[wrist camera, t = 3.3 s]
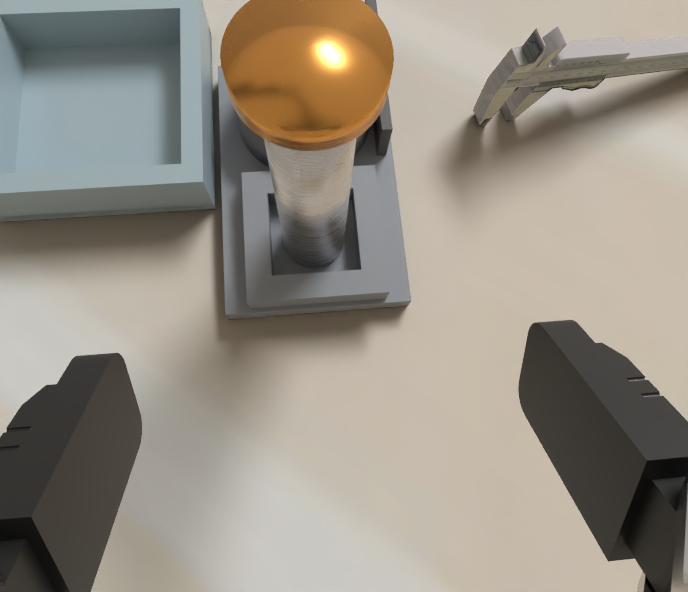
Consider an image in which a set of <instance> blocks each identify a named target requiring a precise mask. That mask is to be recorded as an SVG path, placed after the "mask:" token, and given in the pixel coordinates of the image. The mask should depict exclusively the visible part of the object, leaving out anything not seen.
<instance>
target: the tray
mask: <svg viewBox="0 0 688 592" xmlns="http://www.w3.org/2000/svg"><path fill="white" fill-rule="evenodd" d="M204 209H216V201H215V162H214V123H213V85H212V46H211V32H210V29H209V25H208V21H207V18H206V14H205V10H204V7H203V3H202V0H0V222H8V221H25V220H41V219H57V218H74V217H90V216H106V215H123V214H139V213H155V212H172V211H188V210H204Z"/></svg>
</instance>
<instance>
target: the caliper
mask: <svg viewBox="0 0 688 592" xmlns="http://www.w3.org/2000/svg"><path fill="white" fill-rule="evenodd" d="M685 68H688V37H682V38H672V39H661V40H650V41H640V42H629V43H625V42H624V40H623V38H609V39H596V40H583V41H570V42H565V40H564V38H563V36H562V34H561V32H560V30H559V27H556V28H555V29H553V30H552V31H551V32H549V33H548V34H547V35H545V36H544V37H543V38H542V37H541V34H540V32H539V30H538V29H537V28H536V29H535V30H534V32H533V33H532V34H531V36H530V37H529V38H528V40H527V41H526V42H525V43H524V45H523V46H522V47H517V48H511V50H510V51H509V52H508V53H507V55H506V56H505V57H504V58H503V60H502V61H501V62H500V63H499V65H498V66H497V67H496V68H495V70H494V71H493V72H492V74H491V75H490V76H489V77H488V79H487V81H486V83H485V85H484V88H483V90H482V92H481V94H480V96H479V98H478V100H477V102H476V104H475V107H474V109H473V111H474V113H475V116H476V118H477V121H478V123H479V125H480V126H486V125H487V123H488V122H489V121H490V120H491V119H492V117H493V116H494V115H495V114H496V113H497V112H498V110H499V109H501V111H502V114H503V116H504V118H505V120H506V121H509V120H513V119H515V118H516V117H518V116H519V115H520V114H521V113H523V112H524V111H525V110H526V109H527V108H529V107H530V106H531V105H532V104H534V103H535V102H536V101H537V100H538V99H540V98H541V97H542V96H543V95H545V94H546V93H547V92H548V91H549V90H551V89H552V88H558V87H561V88H562V89H566V90H571V91H573V90H577V89H580V88H588V89H592V88H595V87H597V86H598V85H599V84H600V83H601V82H602V81H603V80H604V79H605V78H610V77H618V76H626V75H635V74H643V73H651V72H660V71H668V70H676V69H685Z"/></svg>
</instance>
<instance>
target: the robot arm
mask: <svg viewBox="0 0 688 592" xmlns="http://www.w3.org/2000/svg"><path fill="white" fill-rule="evenodd" d="M519 399H520V403H521V407H522V410H523V412H524V414H525V416H526V418H527V420H528V421H529V423H530V425H531V427H532V428H533V430H534V432H535V434H536V435H537V437H538V439H539V441H540V442H541V444H542V446H543V448H544V449H545V451H546V453H547V455H548V456H549V458H550V460H551V462H552V463H553V465H554V467H555V469H556V470H557V472H558V474H559V476H560V477H561V479H562V481H563V483H564V485H565V486H566V488H567V490H568V492H569V493H570V495H571V497H572V499H573V500H574V502H575V504H576V506H577V507H578V509H579V511H580V513H581V514H582V516H583V518H584V520H585V521H586V523H587V525H588V527H589V528H590V530H591V532H592V534H593V535H594V537H595V539H596V541H597V542H598V544H599V546H600V548H601V549H602V551H603V553H604V555H605V556H606V558H607V560H608V561H615V560H624V559H633V558H635V559H636V561H637V562H638V564H639V566H640V567H641V569H642V570H643V573H642V575H641V577H640V580H639V584H638V591H637V592H688V421H687V420H686V419H685V418H684V417H683V416H682V415H681V414H680V413H679V412H678V411H677V410H676V409H675V408H674V407H673V406H672V405H671V404H670V403H669V401H668V400H667V399H666V398H665V397H664V396H660V394H659V391H658V390H657V389H656V388H655V387H654V386H653V385H652V384H651V382H650V381H649V380H645V376H644V375H643V374H642V373H641V372H640V371H639V370H638V369H637V368H636V367H635V366H634V365H633V363H632V362H631V361H630V360H629V359H628V358H627V357H625V356H623V355H622V354H620V353H618V352H617V351H615V350H613V349H612V348H610V347H608V346H607V345H605V344H603V343H595V342H594V341H593V340H592V339H591V338H590V337H589V336H588V335H587V333H586V332H585V331H584V330H583V329H582V328H581V327H580V326H579V324H578V323H576V322H575V321H573V320H564V321H551V322H538V323H533V324H532V325H531V327H530V329H529V332H528V336H527V342H526V347H525V353H524V358H523V363H522V369H521V374H520V379H519ZM141 436H142V421H141V414H140V411H139V407H138V404H137V401H136V397H135V394H134V391H133V388H132V384H131V381H130V378H129V374H128V371H127V368H126V364H125V362H124V359H123V357H122V356H121V355H120V354H119V353H110V354H97V355H84V356H76V357H74V358H73V359H72V360H71V362H70V364H69V365H68V367H67V368H66V370H65V372H64V373H63V375H62V377H61V378H60V380H59V382H58V383H57V384H55V385H46V386H45V387H43V388H42V389H41V390H40V391H39V392H37V393H36V394H35V395H34V396H33V397H31V398H30V399H29V400H28V401H26V402H25V403H24V404H23V405H22V406H21V407H20V409H19V410H18V412H17V413H16V415H15V416H14V418H13V419H12V421H11V422H10V424H9V425H8V427H7V432H6V433H3V434H2V436H1V437H0V592H90V591H91V589H92V586H93V583H94V580H95V577H96V574H97V571H98V568H99V565H100V562H101V559H102V556H103V553H104V550H105V547H106V544H107V541H108V538H109V535H110V532H111V529H112V526H113V523H114V520H115V517H116V515H117V512H118V509H119V506H120V503H121V500H122V497H123V494H124V491H125V488H126V485H127V482H128V479H129V476H130V473H131V470H132V467H133V464H134V461H135V458H136V455H137V452H138V449H139V446H140V442H141Z"/></svg>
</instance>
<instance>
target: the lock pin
mask: <svg viewBox="0 0 688 592" xmlns="http://www.w3.org/2000/svg"><path fill="white" fill-rule="evenodd" d="M220 58H221V67H222V70H223V74H224V78H225V81H226V85H227V89H228V93H229V96H230V100H231V103H232V105H233V107H234V109H235V111H236V113H237V114H238V116H239V117H240V119H241V120H242V121H243V122H244V124H245V125H246V126H247V127H248V128H250V129H251V130H252V131H253V132H254V133H255V134H257V135H258V136H260V137H261V138H263V139H264V142H265V147H266V152H267V158H268V163H269V168H270V173H271V178H272V184H273V189H274V194H275V199H276V204H277V210H278V215H279V220H280V225H281V231H282V236H283V241H284V246H285V249H286V252H287V254H288V255H289V257H290V258H291V259H292V260H293V261H294V262H295V263H297V264H299V265H300V266H303V267H306V268H322V267H325V266H327V265H329V264H331V263H332V262H334V261H335V260H336V259H337V258H338V256H339V255H340V253H341V251H342V249H343V245H344V236H345V228H346V220H347V212H348V204H349V195H350V187H351V179H352V171H353V163H354V155H355V146H356V138H357V137H358V136H360V135H361V134H363V133H364V132H365V131H366V130H367V129H368V128H369V127H370V126H371V125H372V124H373V123H374V122H375V121H376V119H377V118H378V116H379V115H380V113H381V111H382V109H383V107H384V105H385V102H386V98H387V94H388V89H389V84H390V79H391V74H392V69H393V60H394V57H393V47H392V42H391V38H390V36H389V33H388V31H387V29H386V27H385V25H384V23H383V22H382V20H381V19H380V18H379V16H378V15H377V14H376V13H375V12H374V11H373V10H372V9H371V8H370V7H369V6H368V5H367V4H365V3H364V2H363V1H361V0H250V1H249V2H247V3H246V4H245V5H244V6H243V7H242V8H241V9H240V10H239V11H238V12H237V13H236V14H235V15H234V17H233V18H232V19H231V21H230V23H229V24H228V26H227V28H226V30H225V33H224V36H223V39H222V44H221V54H220Z"/></svg>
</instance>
